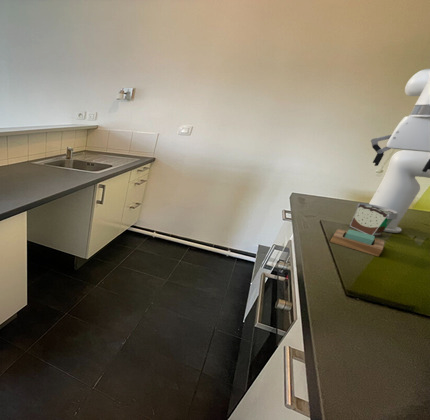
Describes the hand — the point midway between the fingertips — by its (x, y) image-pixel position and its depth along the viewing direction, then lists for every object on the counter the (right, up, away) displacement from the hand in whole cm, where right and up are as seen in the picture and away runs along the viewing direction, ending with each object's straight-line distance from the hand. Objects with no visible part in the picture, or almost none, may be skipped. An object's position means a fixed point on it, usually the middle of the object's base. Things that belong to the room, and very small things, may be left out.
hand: (398, 168), depth 80 cm
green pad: (-8, -26, +5) cm, 27 cm away
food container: (+11, -23, +16) cm, 30 cm away
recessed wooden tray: (-8, -26, +5) cm, 27 cm away
